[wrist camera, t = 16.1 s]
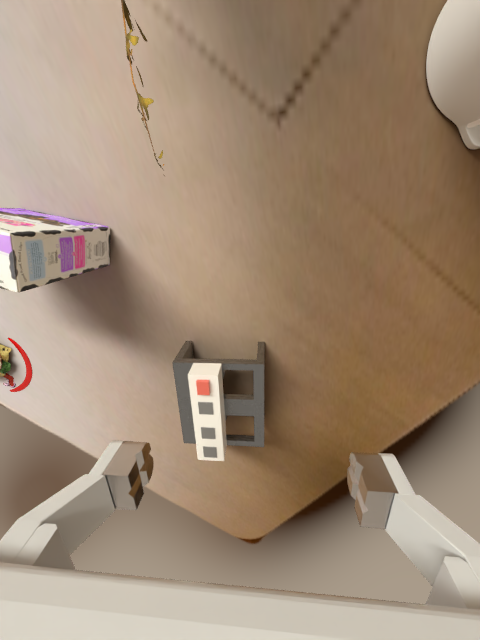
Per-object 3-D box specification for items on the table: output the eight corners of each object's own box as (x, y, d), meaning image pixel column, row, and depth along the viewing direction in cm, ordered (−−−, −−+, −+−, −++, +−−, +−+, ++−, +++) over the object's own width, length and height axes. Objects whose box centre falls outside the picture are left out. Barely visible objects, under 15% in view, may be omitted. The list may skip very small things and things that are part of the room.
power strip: (225, 350, 41) (217, 378, 34) (229, 427, 46) (223, 464, 39) (199, 350, 41) (186, 377, 34) (207, 427, 47) (197, 463, 40)
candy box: (111, 226, 39) (11, 233, 24) (111, 265, 41) (19, 296, 26) (19, 206, 39) (-139, 201, 24) (24, 247, 41) (-118, 266, 26)
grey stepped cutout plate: (264, 341, 43) (264, 364, 37) (264, 416, 49) (264, 446, 42) (186, 341, 45) (172, 362, 38) (194, 413, 50) (183, 443, 43)
